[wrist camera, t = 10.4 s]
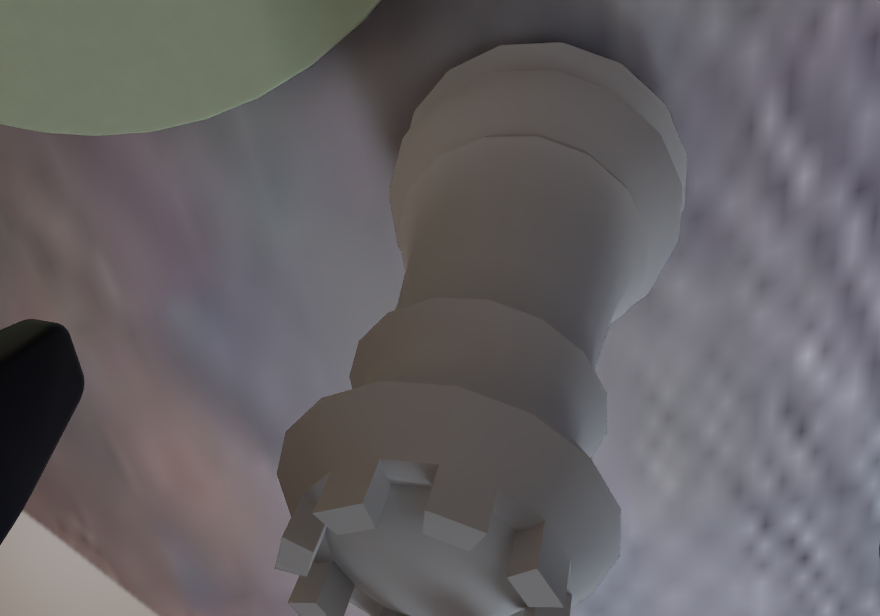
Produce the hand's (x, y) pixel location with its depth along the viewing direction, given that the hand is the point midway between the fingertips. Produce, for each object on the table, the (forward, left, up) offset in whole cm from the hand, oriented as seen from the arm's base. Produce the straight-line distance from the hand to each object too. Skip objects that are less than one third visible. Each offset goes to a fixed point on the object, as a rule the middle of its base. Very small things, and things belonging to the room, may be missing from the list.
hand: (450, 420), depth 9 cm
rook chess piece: (0, 0, -6) cm, 6 cm away
